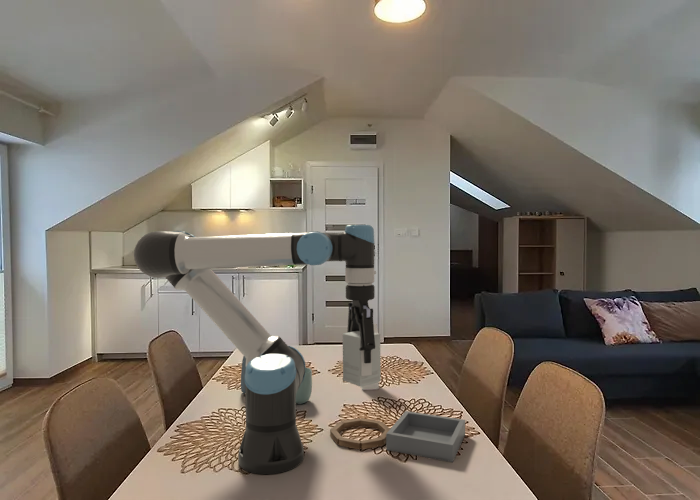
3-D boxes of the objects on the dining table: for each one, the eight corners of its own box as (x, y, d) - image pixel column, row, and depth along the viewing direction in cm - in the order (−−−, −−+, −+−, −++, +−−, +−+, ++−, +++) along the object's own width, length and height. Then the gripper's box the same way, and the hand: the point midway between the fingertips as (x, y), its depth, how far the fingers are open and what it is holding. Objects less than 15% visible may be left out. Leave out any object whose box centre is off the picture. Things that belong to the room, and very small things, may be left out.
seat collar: (377, 452, 112) (377, 446, 112) (322, 442, 118) (322, 436, 118) (396, 429, 126) (396, 423, 126) (346, 420, 132) (346, 415, 132)
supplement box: (381, 381, 121) (381, 333, 121) (359, 387, 117) (359, 337, 116) (363, 375, 127) (363, 329, 127) (341, 380, 122) (341, 332, 122)
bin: (452, 462, 107) (452, 445, 107) (386, 449, 114) (386, 433, 114) (465, 434, 122) (465, 419, 122) (405, 425, 129) (405, 410, 128)
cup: (308, 406, 143) (307, 374, 143) (284, 405, 145) (283, 373, 144) (314, 398, 151) (314, 367, 150) (292, 396, 152) (291, 366, 152)
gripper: (388, 287, 112) (388, 380, 112) (361, 280, 132) (361, 358, 133) (358, 288, 109) (359, 383, 110) (335, 280, 130) (336, 360, 131)
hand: (360, 369), depth 121 cm, fingers closed on supplement box, 9 cm apart
